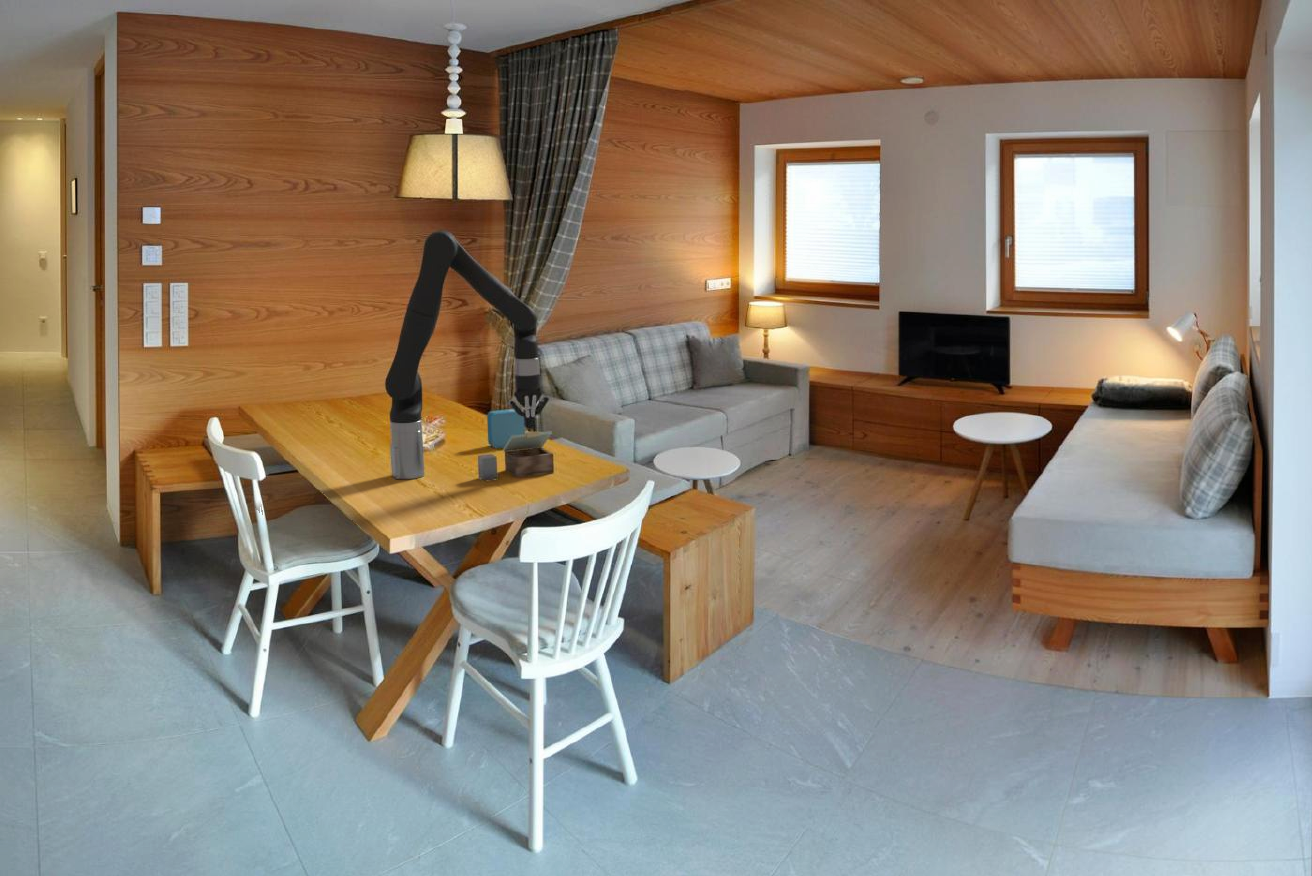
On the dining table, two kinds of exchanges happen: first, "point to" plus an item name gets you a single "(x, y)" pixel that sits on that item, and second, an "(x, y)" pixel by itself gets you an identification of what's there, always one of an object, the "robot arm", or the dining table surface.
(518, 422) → the data package
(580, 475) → the dining table surface
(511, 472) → the walnut box
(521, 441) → the box lid
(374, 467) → the dining table surface
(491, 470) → the block
